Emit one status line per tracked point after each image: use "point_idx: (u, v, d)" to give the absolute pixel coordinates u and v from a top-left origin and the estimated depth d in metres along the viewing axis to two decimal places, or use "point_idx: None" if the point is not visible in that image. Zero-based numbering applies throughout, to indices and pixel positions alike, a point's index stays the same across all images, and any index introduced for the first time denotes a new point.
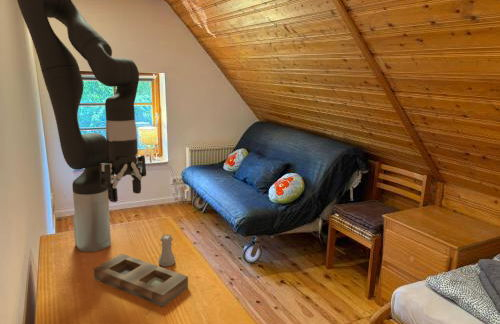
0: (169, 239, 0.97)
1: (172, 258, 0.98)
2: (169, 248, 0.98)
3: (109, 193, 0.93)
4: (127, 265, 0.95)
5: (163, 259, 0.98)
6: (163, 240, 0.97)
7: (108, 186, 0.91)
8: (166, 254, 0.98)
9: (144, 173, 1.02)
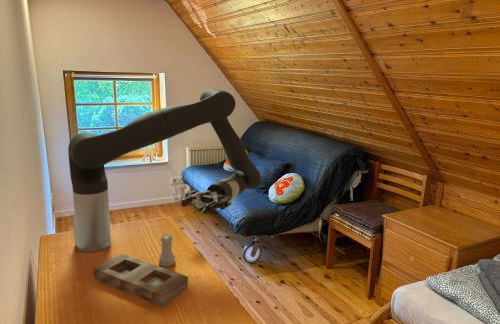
0: (169, 239, 0.97)
1: (172, 258, 0.98)
2: (169, 248, 0.98)
3: (213, 206, 1.07)
4: (127, 265, 0.95)
5: (163, 259, 0.98)
6: (163, 240, 0.97)
7: None
8: (166, 254, 0.98)
9: None
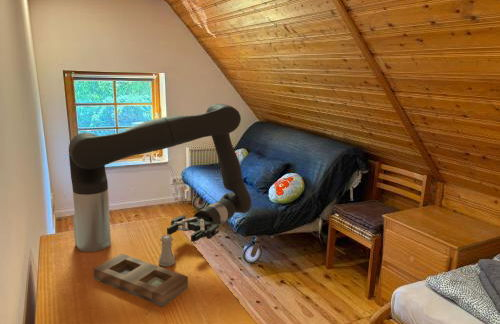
0: (169, 239, 0.97)
1: (172, 258, 0.98)
2: (169, 248, 0.98)
3: (200, 235, 1.03)
4: (127, 265, 0.95)
5: (163, 259, 0.98)
6: (163, 240, 0.97)
7: (209, 238, 1.05)
8: (166, 254, 0.98)
9: None
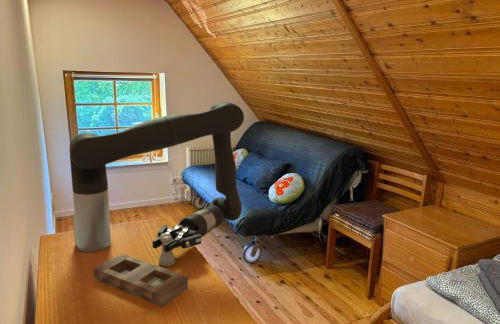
0: (169, 239, 0.97)
1: (172, 258, 0.98)
2: None
3: (174, 245, 0.96)
4: (127, 265, 0.95)
5: (163, 259, 0.98)
6: (163, 240, 0.97)
7: None
8: (165, 254, 0.98)
9: None
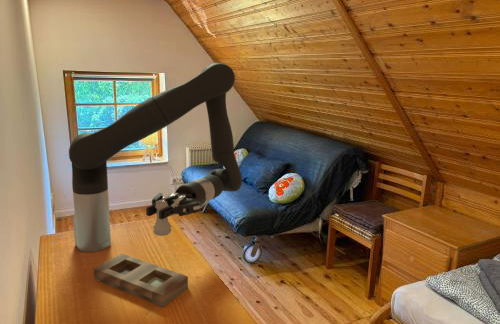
0: (164, 205, 0.89)
1: (168, 227, 0.90)
2: None
3: (170, 212, 0.88)
4: (127, 265, 0.95)
5: (158, 227, 0.89)
6: (158, 206, 0.88)
7: (181, 215, 0.90)
8: (161, 222, 0.89)
9: None
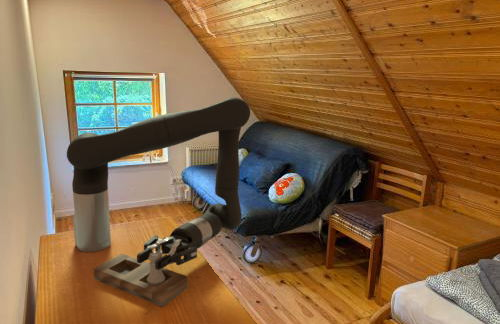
0: (158, 257, 0.85)
1: (162, 279, 0.86)
2: None
3: (167, 262, 0.84)
4: (127, 265, 0.95)
5: (151, 280, 0.85)
6: (151, 258, 0.84)
7: None
8: (154, 274, 0.85)
9: None
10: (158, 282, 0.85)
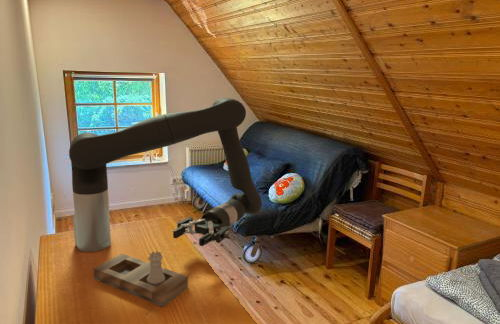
0: (158, 257, 0.85)
1: (162, 279, 0.86)
2: (158, 268, 0.86)
3: (208, 239, 0.96)
4: (127, 265, 0.95)
5: (151, 280, 0.85)
6: (151, 259, 0.84)
7: None
8: (154, 275, 0.85)
9: None
10: (158, 282, 0.85)
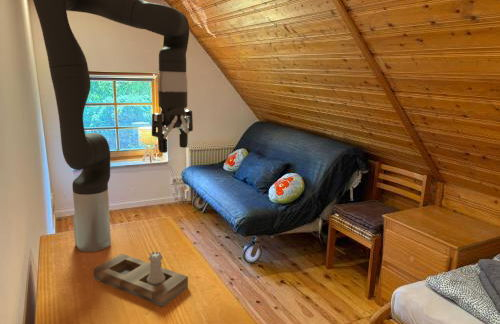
0: (158, 257, 0.85)
1: (162, 279, 0.86)
2: (158, 268, 0.86)
3: (160, 143, 0.95)
4: (127, 265, 0.95)
5: (151, 280, 0.85)
6: (151, 259, 0.84)
7: (160, 136, 0.93)
8: (154, 275, 0.85)
9: (191, 128, 1.04)
10: (158, 282, 0.85)
